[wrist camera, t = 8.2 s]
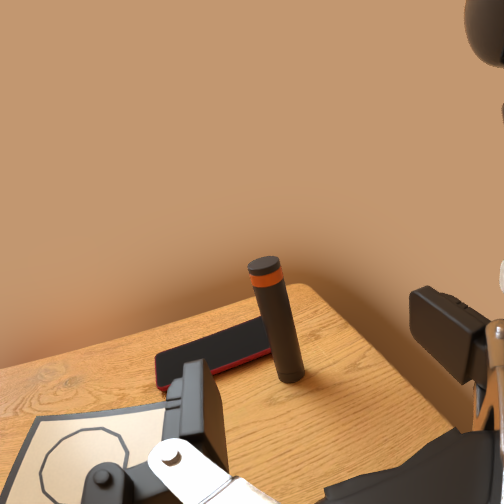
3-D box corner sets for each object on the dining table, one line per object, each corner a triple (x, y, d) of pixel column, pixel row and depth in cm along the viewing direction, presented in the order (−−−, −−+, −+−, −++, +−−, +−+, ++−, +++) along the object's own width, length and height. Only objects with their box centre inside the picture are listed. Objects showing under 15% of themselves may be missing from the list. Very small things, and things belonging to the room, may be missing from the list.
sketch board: (184, 401, 29) (181, 396, 28) (181, 544, 13) (177, 541, 13) (39, 419, 28) (35, 415, 27) (-3, 517, 12) (-9, 513, 12)
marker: (301, 362, 30) (275, 253, 27) (308, 378, 28) (282, 262, 24) (276, 370, 30) (245, 261, 27) (281, 386, 28) (249, 272, 24)
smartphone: (153, 354, 37) (265, 313, 40) (156, 359, 37) (267, 319, 40) (156, 389, 30) (288, 340, 33) (159, 395, 30) (290, 347, 33)
